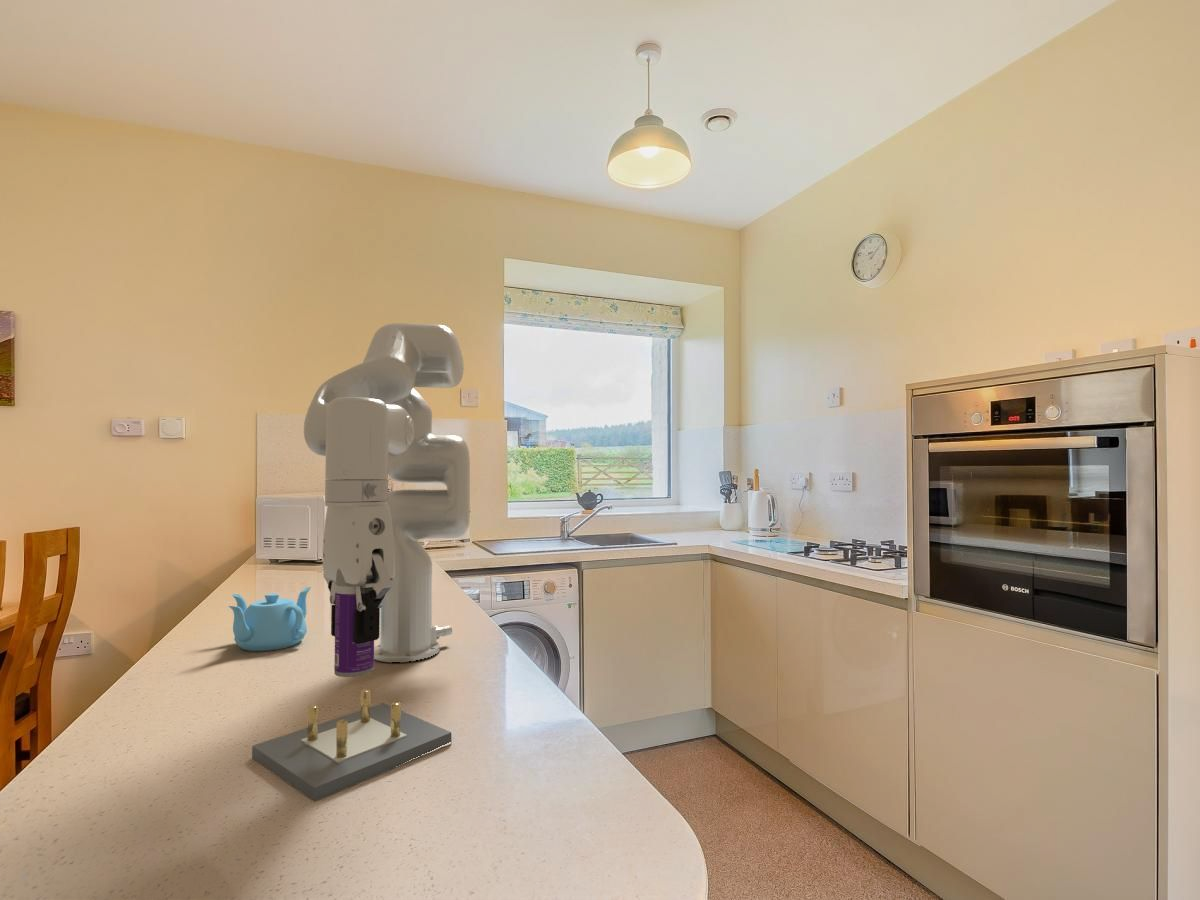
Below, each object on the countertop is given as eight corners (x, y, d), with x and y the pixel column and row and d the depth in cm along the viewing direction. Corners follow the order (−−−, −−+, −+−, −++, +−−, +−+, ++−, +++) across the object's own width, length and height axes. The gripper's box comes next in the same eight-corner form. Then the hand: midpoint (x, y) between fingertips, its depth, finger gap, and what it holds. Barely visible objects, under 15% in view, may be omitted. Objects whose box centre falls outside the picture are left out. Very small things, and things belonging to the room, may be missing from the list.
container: (360, 678, 76) (361, 555, 76) (326, 675, 77) (328, 554, 77) (381, 666, 80) (382, 550, 81) (348, 664, 81) (350, 549, 82)
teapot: (309, 650, 122) (310, 597, 123) (221, 659, 116) (222, 604, 116) (310, 632, 136) (311, 585, 136) (230, 640, 129) (232, 590, 130)
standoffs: (367, 718, 84) (367, 688, 85) (402, 735, 79) (402, 703, 79) (305, 739, 78) (305, 707, 78) (339, 759, 73) (339, 724, 73)
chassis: (383, 713, 90) (383, 701, 91) (451, 744, 80) (451, 730, 80) (251, 757, 77) (252, 744, 77) (314, 801, 66) (314, 785, 66)
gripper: (421, 494, 77) (419, 642, 76) (350, 492, 88) (348, 622, 87) (365, 496, 71) (363, 656, 70) (296, 493, 82) (294, 633, 81)
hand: (355, 636), depth 79 cm, fingers closed on container, 4 cm apart
